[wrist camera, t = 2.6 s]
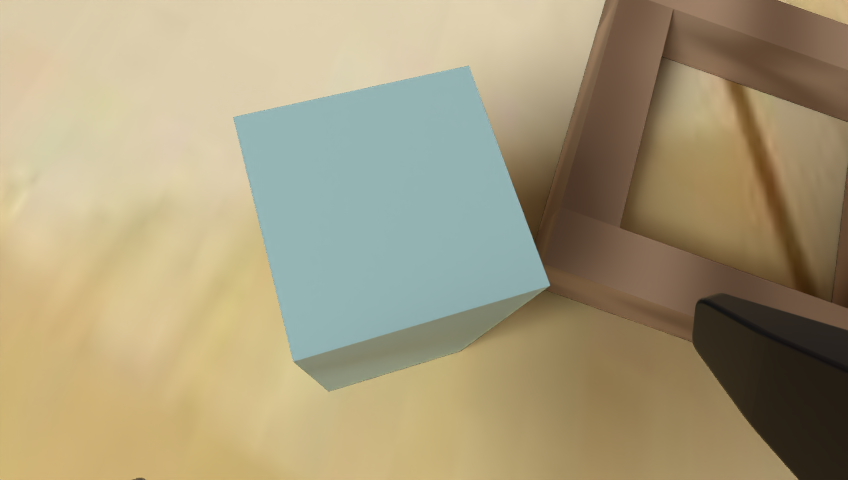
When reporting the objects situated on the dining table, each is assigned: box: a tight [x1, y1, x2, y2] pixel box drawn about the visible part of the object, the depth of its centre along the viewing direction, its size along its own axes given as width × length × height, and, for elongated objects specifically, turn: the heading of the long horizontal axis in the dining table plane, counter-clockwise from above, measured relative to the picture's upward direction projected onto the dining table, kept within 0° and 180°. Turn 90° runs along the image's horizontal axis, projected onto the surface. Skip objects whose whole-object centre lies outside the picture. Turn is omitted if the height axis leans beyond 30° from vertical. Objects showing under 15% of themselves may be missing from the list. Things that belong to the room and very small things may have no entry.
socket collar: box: [535, 0, 848, 342], centre depth 21 cm, size 13×13×2 cm
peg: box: [233, 66, 550, 391], centre depth 15 cm, size 4×4×10 cm
